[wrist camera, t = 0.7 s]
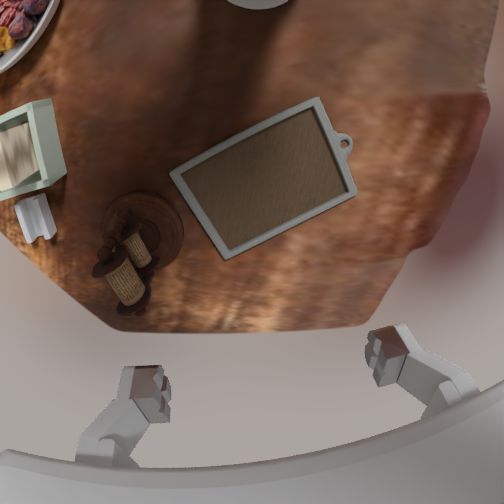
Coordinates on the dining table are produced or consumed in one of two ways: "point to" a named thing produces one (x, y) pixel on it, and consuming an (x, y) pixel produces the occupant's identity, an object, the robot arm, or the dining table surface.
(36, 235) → the holder
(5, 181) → the beige streaked board
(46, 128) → the box
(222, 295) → the dining table surface
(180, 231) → the scroll
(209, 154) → the framed board
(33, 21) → the bowl
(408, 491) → the robot arm
